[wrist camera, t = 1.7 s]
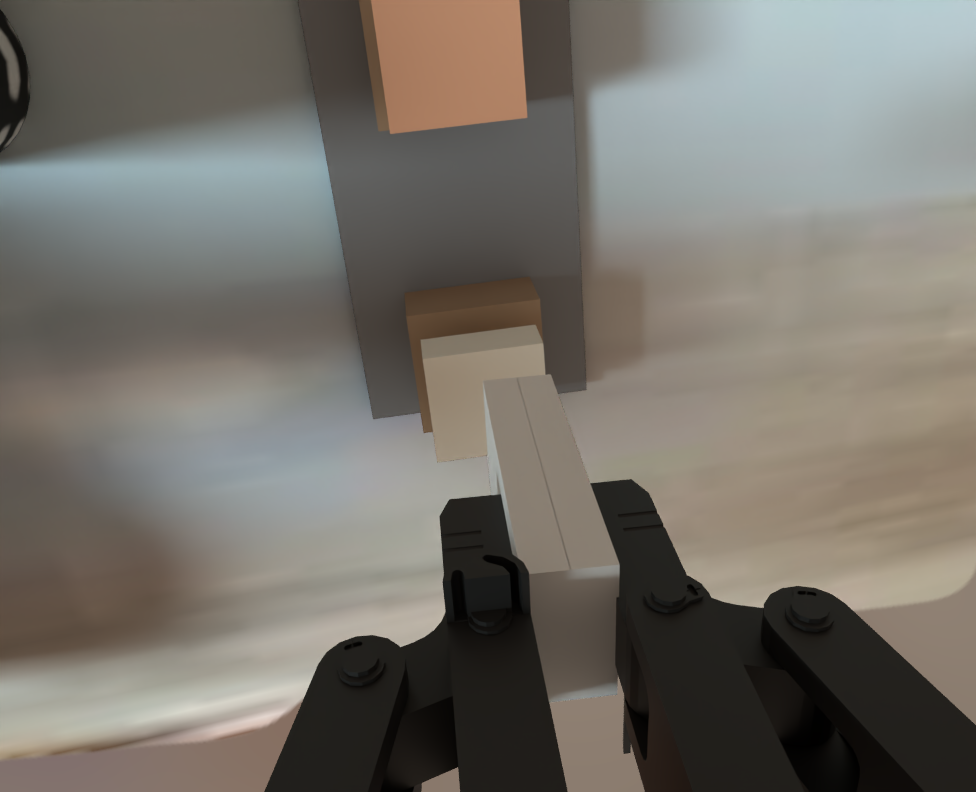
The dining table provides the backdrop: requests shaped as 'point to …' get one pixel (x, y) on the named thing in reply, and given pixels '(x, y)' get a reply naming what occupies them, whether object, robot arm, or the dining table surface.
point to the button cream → (473, 382)
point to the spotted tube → (12, 83)
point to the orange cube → (450, 62)
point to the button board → (451, 207)
